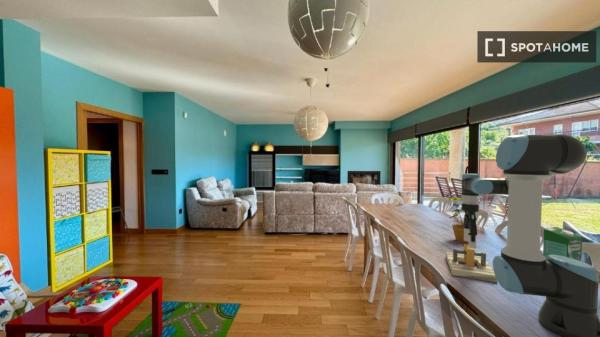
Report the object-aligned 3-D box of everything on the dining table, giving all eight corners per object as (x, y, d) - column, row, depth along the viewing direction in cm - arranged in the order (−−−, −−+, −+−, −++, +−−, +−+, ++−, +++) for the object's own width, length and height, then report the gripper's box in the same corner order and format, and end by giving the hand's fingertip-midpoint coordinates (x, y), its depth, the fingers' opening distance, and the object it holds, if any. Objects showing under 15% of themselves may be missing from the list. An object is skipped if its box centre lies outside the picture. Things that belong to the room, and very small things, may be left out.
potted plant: (440, 238, 183) (441, 197, 182) (460, 236, 188) (461, 196, 187) (463, 246, 166) (464, 200, 165) (484, 243, 171) (485, 199, 170)
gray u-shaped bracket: (485, 271, 127) (486, 254, 127) (453, 266, 133) (453, 249, 133) (484, 270, 129) (485, 252, 129) (452, 265, 135) (453, 248, 134)
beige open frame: (497, 282, 116) (497, 275, 116) (452, 275, 123) (452, 268, 123) (483, 262, 139) (483, 257, 139) (445, 257, 146) (446, 252, 146)
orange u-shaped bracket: (474, 267, 126) (474, 250, 126) (467, 266, 127) (467, 249, 127) (470, 261, 135) (470, 244, 134) (463, 260, 136) (464, 243, 135)
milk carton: (566, 290, 109) (568, 233, 108) (542, 280, 118) (543, 227, 117) (580, 287, 111) (582, 231, 111) (555, 278, 120) (556, 226, 119)
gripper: (485, 207, 117) (484, 252, 117) (473, 200, 140) (472, 238, 140) (466, 206, 120) (465, 250, 120) (457, 200, 143) (457, 237, 143)
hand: (469, 244), depth 130 cm, fingers open, 13 cm apart
